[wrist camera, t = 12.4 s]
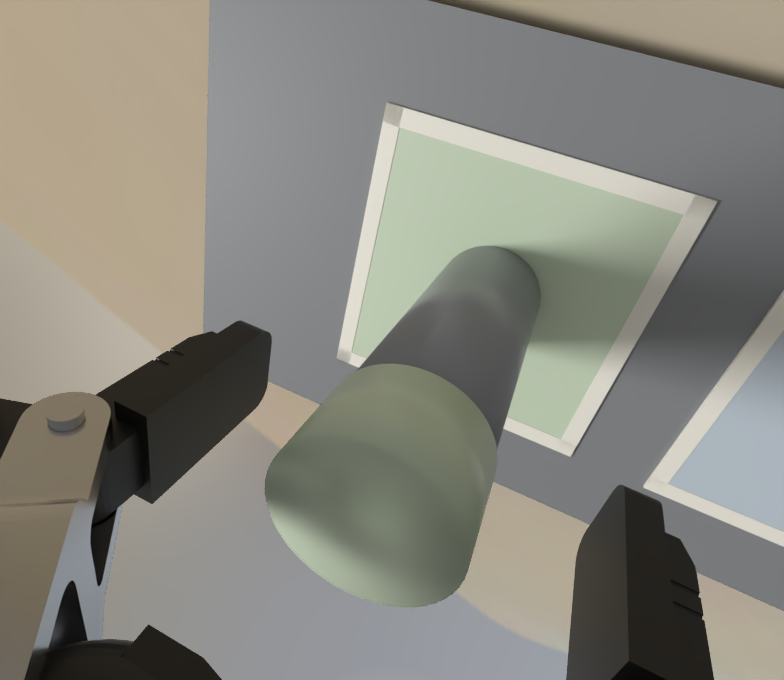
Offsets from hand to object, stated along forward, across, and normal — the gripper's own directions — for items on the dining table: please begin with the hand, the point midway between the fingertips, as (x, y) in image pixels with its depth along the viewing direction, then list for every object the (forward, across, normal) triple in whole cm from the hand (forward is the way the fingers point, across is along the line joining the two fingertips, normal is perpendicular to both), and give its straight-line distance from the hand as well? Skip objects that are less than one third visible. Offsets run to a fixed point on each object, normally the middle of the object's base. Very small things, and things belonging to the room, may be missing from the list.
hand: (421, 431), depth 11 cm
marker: (+8, 0, 0) cm, 8 cm away
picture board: (+9, -7, 0) cm, 11 cm away
